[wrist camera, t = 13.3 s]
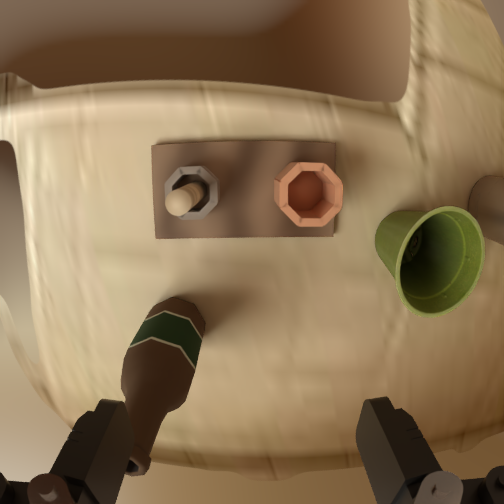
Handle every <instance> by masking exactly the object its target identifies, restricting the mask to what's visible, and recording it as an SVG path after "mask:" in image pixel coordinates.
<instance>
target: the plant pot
mask: <svg viewBox="0 0 504 504" xmlns="http://www.w3.org/2000/svg"><path fill="white" fill-rule="evenodd" d="M415 237H418V240H417V244H416V246H415V247H413V244H414V241H415ZM375 246H376V250H377V253H378V255H379V257H380V258H381V260H382V261H383V262H384V264H385V265H386V267H387V268H388V270H389V271H390V273H391V274H392V276H393V277H394V279H395V282H396V288H397V291H398V294H399V297H400V299H401V301H402V302H403V304H404V305H405V307H406V308H407V309H408V310H410V311H411V312H412V313H414V314H415V315H418V316H421V317H427V318H434V317H438V316H442V315H445V314H447V313H449V312H451V311H453V310H454V309H456V308H457V307H458V306H460V305H461V304H462V303H463V302H464V301H465V300H466V299H467V297H468V296H469V295H470V294H471V292H472V291H473V289H474V288H475V286H476V284H477V282H478V280H479V277H480V275H481V272H482V269H483V265H484V259H485V243H484V237H483V234H482V231H481V228H480V226H479V224H478V222H477V221H476V219H475V218H474V217H473V216H472V215H471V214H470V213H469V212H467V211H466V210H464V209H462V208H459V207H456V206H443V207H439V208H436V209H433V210H431V211H428V212H419V211H397V212H393V213H391V214H390V215H389V216H387V217H386V218H385V219H384V220H383V221H382V222H381V223H380V225H379V227H378V229H377V232H376V236H375ZM410 251H411V252H412V254H413V256H412V254H411V252H410Z"/></svg>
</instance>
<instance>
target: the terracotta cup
mask: <svg viewBox="0 0 504 504" xmlns="http://www.w3.org/2000/svg"><path fill="white" fill-rule="evenodd" d="M342 197H343V183H342V181H341V180H340V179H339V178H338V176H337V175H336V174H335V173H334V172H333V171H332V170H331V169H330V168H329V167H328V166H327V164H324V163H308V162H291V163H289V164H288V165H287V166H286V167H285V168H284V169H283V170H282V171H281V172H280V173H279V174H278V175H277V176H276V177H275V179H274V201H275V202H276V204H277V205H278V206H279V208H280V209H281V210H282V211H283V212H284V213H285V214H286V215H287V216H288V217H289V218H290V219H291V220H292V221H293V222H294V223H295V224H296V225H297V226H299V227H323V225H324V226H325V225H326V224H327V223H328V222H329V221H330V220H331V219H332V218H333V217H334V216H335V215H336V214H337V213H338V212H339V211H340V210H341V208H342Z"/></svg>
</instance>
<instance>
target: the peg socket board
mask: <svg viewBox="0 0 504 504" xmlns="http://www.w3.org/2000/svg"><path fill="white" fill-rule="evenodd" d="M151 149H152V184H153V205H154V222H155V236H156V239H175V238H235V237H333V232H334V217H333V218H332V219H331V220H330V221H329V222H328V223H327V224H326V225H325V226H324V225H323V227H299V226H297V225H296V224H295V223H294V222H293V221H292V220H291V219H290V218H289V217H288V216H287V215H286V214H285V213H284V212H283V211H282V210H281V209H280V208H279V206H278V205H277V204H276V202H275V201H274V179H275V177H276V176H277V175H278V174H279V173H280V172H281V171H282V170H283V169H284V168H285V167H286V166H287V165H288V164H289V163H291V162H308V163H324V164H327V166H328V167H329V168H330V169H331V170H332V171H333V172H334V173H335V164H336V143H323V142H297V141H223V142H197V143H179V144H164V145H151ZM194 181H200V182H202V183H204V184H205V186H206V189H207V193H206V195H205V197H204V198H203V199H202V200H200V201H199V202H198V203H197V204H196V205H195V206H194V207H192V208H191V209H190V210H189V211H188V212H187V213H185V214H184V215H181V216H175V215H172V214H171V213H169V212H168V210H167V209H166V206H165V200H166V197H167V195H168V194H169V193H170V192H172V191H174V190H176V189H178V188H180V187H183V186H185V185H187V184H190V183H192V182H194Z"/></svg>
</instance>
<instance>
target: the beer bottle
mask: <svg viewBox="0 0 504 504" xmlns="http://www.w3.org/2000/svg"><path fill="white" fill-rule="evenodd" d="M204 329H205V321H204V320H203V318H202V316H201V315H200V313H199V312H198V310H197V308H196V307H195V305H194V304H192V303H189V302H186V301H183V300H180V299H177V298H174V297H172V298H170V299H167V300H165V301H163V302H161V303H159V304H157V305H155V306H154V307H153V308H152V309H151V310H150V312H149V314H148V315H147V317H146V319H145V320H144V322H143V324H142V325H141V327H140V329H139V331H138V332H137V334H136V336H135V337H134V339H133V341H132V343H131V344H130V346H129V348H128V350H127V353H126V355H125V357H124V362H123V369H122V376H121V389H122V392H123V394H124V396H125V398H126V401H125V403H124V404H125V406H126V409H127V412H128V416H129V419H130V422H131V425H132V428H133V431H134V438H135V440H134V447H133V450H132V453H131V456H130V459H129V462H128V465H127V468H126V471H125V474H126V475H130V476H139V475H144V474H145V473H146V472H147V470H148V469H149V466H150V463H151V458H150V457H149V455H150V452H151V449H152V447H153V444H154V441H155V439H156V436H157V433H158V431H159V428H160V425H161V423H162V421H163V419H164V418H165V416H166V414H167V413H168V412H171V411H173V410H175V409H178V408H179V407H180V406H181V405H182V404H183V403H184V402H185V401H186V398H187V395H188V392H189V389H190V386H191V383H192V379H193V376H194V373H195V370H196V365H197V361H198V356H199V351H200V347H201V342H202V338H203V334H204Z"/></svg>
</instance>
